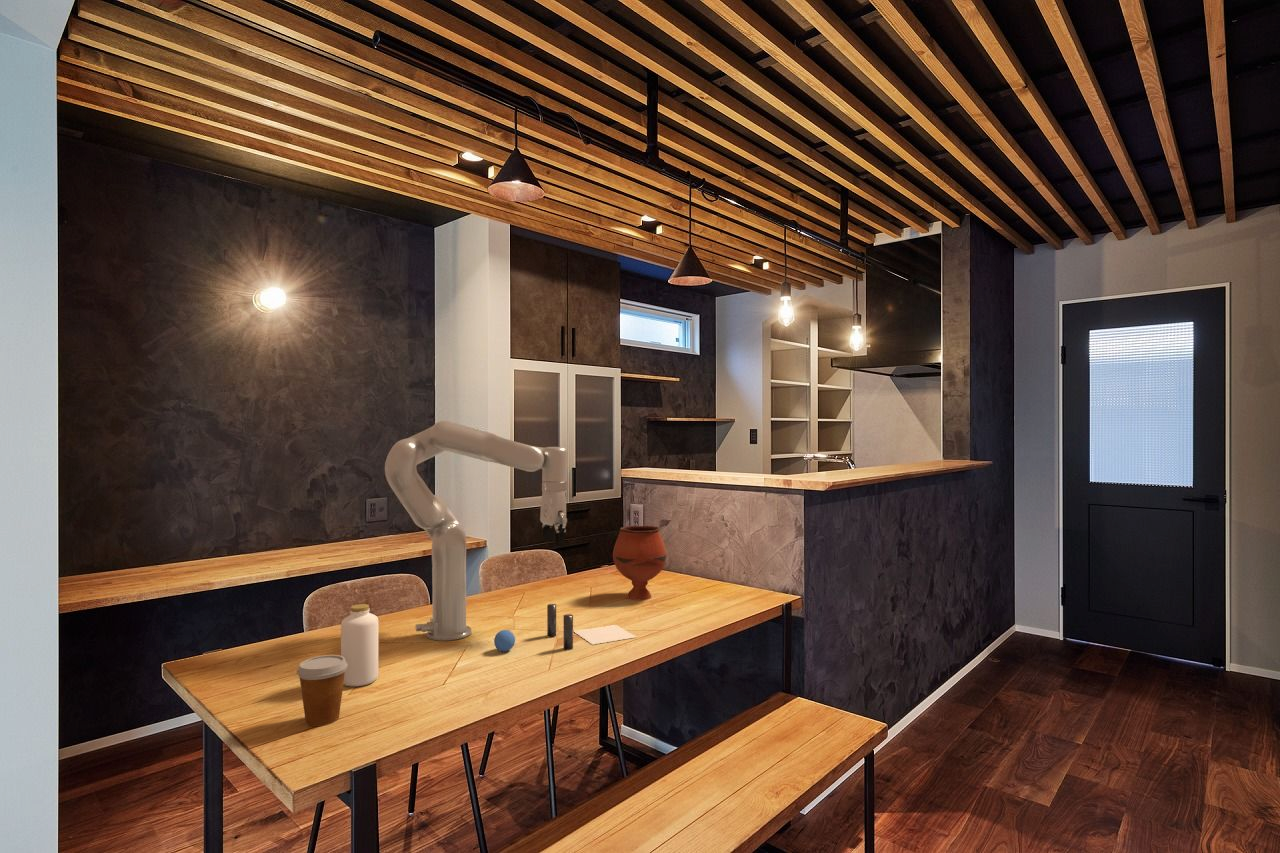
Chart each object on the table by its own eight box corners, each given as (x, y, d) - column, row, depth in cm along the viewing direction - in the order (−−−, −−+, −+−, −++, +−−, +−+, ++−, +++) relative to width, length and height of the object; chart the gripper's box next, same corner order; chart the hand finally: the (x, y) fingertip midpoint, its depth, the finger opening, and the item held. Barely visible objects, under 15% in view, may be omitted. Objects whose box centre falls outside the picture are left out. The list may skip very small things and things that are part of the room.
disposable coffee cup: (321, 733, 132) (321, 672, 132) (286, 725, 136) (286, 666, 136) (357, 714, 141) (357, 657, 141) (323, 707, 145) (323, 651, 145)
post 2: (565, 650, 182) (565, 617, 182) (562, 647, 184) (562, 615, 184) (574, 649, 183) (574, 616, 183) (570, 646, 185) (570, 613, 185)
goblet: (676, 595, 243) (676, 526, 243) (647, 606, 227) (647, 533, 227) (632, 588, 253) (632, 522, 253) (602, 599, 237) (602, 528, 237)
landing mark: (592, 645, 186) (592, 644, 186) (573, 631, 198) (573, 631, 198) (636, 637, 193) (636, 636, 193) (615, 625, 205) (615, 624, 205)
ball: (497, 655, 178) (497, 634, 178) (491, 649, 183) (491, 629, 183) (517, 652, 180) (517, 631, 180) (511, 646, 185) (511, 626, 185)
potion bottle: (367, 672, 165) (367, 600, 165) (385, 680, 160) (385, 605, 160) (334, 682, 159) (334, 606, 159) (351, 691, 154) (351, 612, 154)
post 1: (549, 637, 193) (549, 606, 193) (546, 635, 195) (546, 604, 195) (557, 636, 194) (557, 605, 194) (554, 634, 196) (554, 603, 196)
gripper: (532, 485, 209) (531, 539, 209) (554, 489, 195) (552, 548, 194) (554, 484, 213) (553, 538, 213) (577, 489, 198) (576, 546, 198)
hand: (553, 543), depth 204 cm, fingers open, 9 cm apart
